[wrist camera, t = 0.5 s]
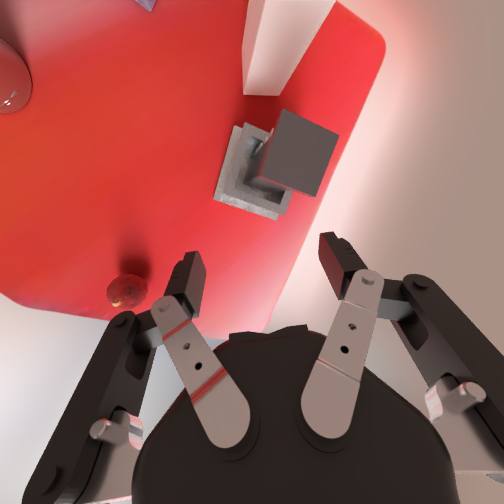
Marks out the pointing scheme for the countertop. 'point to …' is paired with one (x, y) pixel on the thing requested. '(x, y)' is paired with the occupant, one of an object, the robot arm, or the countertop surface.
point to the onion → (127, 291)
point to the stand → (234, 174)
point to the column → (291, 156)
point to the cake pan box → (147, 4)
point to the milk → (278, 41)
